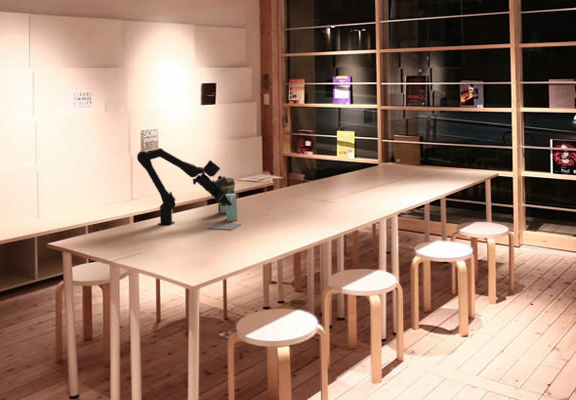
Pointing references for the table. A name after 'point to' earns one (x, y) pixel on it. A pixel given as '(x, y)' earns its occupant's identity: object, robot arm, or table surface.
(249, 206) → the table surface
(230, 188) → the coffee jar
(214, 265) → the table surface
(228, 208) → the teal tall block
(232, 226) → the mat
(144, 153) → the robot arm
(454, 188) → the table surface
